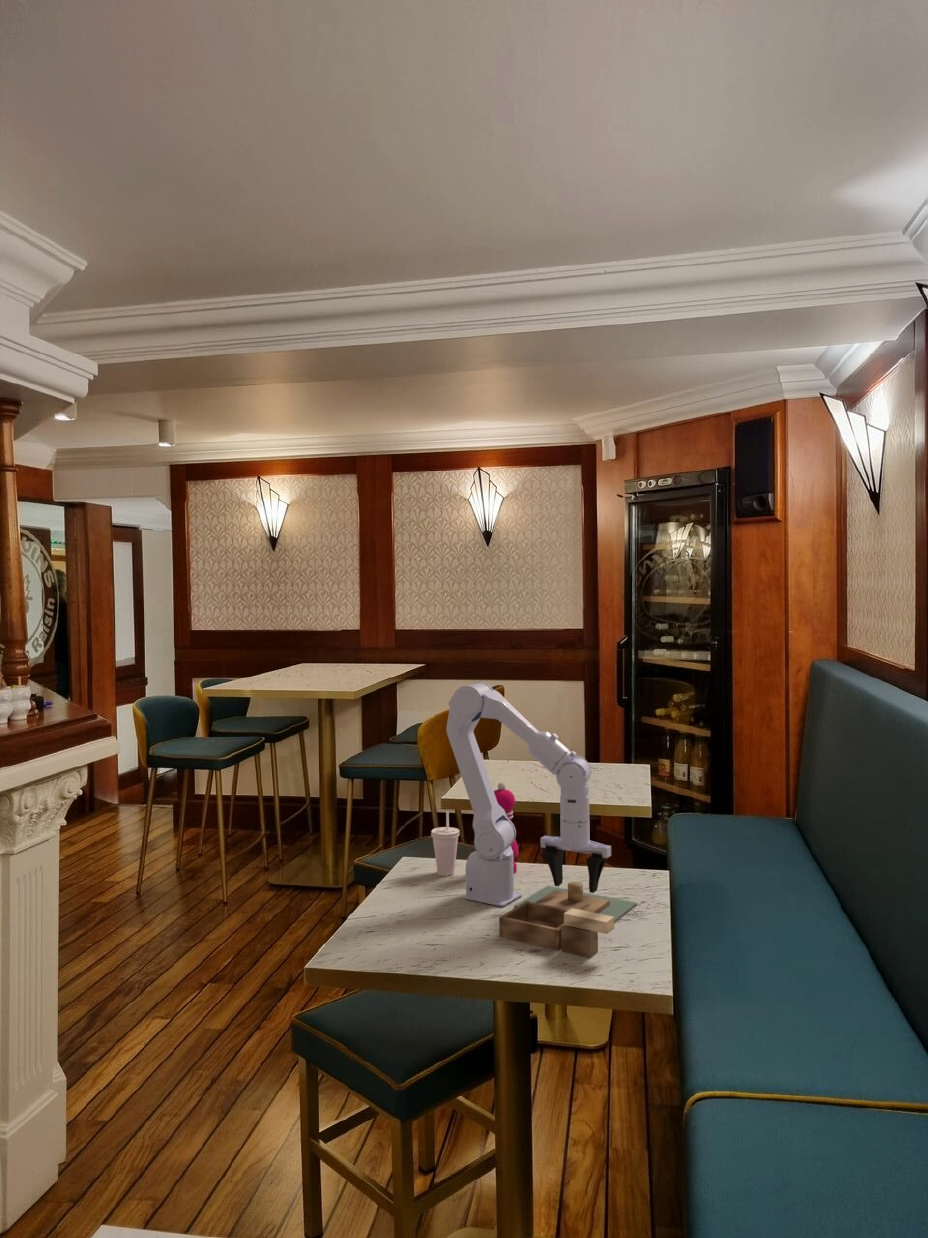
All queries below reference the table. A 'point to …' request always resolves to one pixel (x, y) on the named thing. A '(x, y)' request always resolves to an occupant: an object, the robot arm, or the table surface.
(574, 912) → the block
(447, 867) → the smoothie
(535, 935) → the open wooden box
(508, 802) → the pepper mill
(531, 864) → the table surface
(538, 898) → the mat
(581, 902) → the lid
